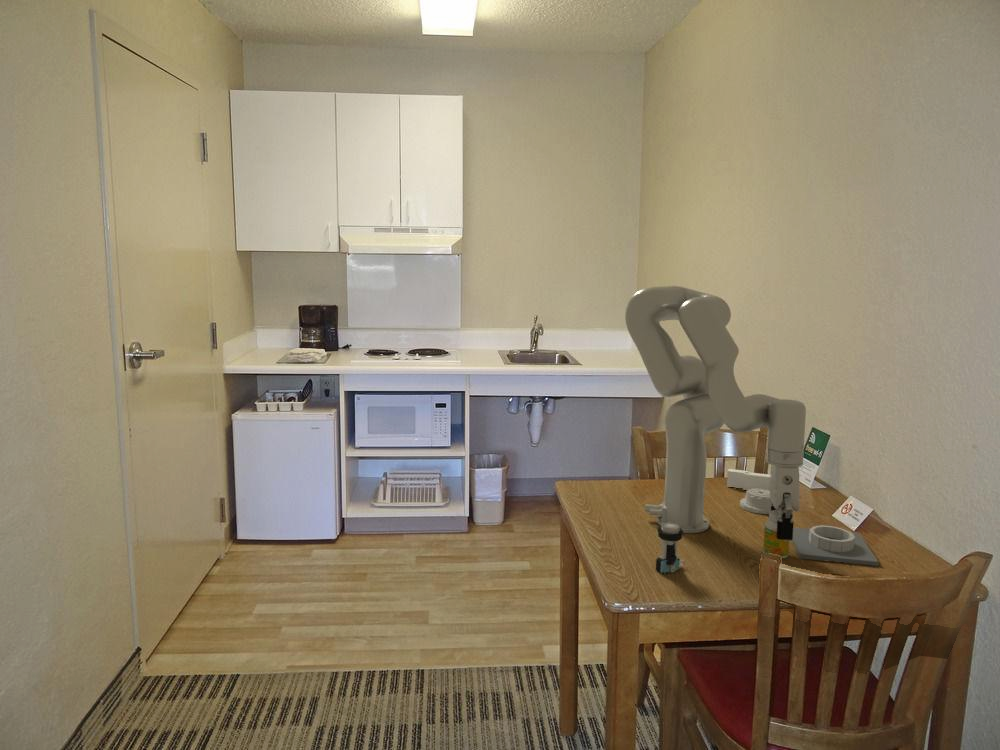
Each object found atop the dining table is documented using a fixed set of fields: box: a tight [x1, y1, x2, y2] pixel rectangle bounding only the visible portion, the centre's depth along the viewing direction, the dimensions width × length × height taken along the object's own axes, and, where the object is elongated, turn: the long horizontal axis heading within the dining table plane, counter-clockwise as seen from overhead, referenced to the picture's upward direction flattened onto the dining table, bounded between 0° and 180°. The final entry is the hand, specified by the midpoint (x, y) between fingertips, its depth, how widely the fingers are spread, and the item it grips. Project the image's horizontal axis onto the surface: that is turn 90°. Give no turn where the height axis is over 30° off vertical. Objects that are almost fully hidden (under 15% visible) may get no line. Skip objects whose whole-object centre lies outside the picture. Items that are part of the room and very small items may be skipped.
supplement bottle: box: [762, 510, 790, 559], centre depth 161 cm, size 5×5×10 cm
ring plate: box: [791, 524, 879, 567], centre depth 166 cm, size 16×16×4 cm
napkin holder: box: [726, 468, 771, 491], centre depth 206 cm, size 15×11×6 cm
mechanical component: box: [739, 488, 772, 515], centre depth 191 cm, size 10×4×10 cm
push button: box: [655, 523, 684, 574], centre depth 153 cm, size 7×5×10 cm
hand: (780, 531), depth 161 cm, fingers open, 9 cm apart
